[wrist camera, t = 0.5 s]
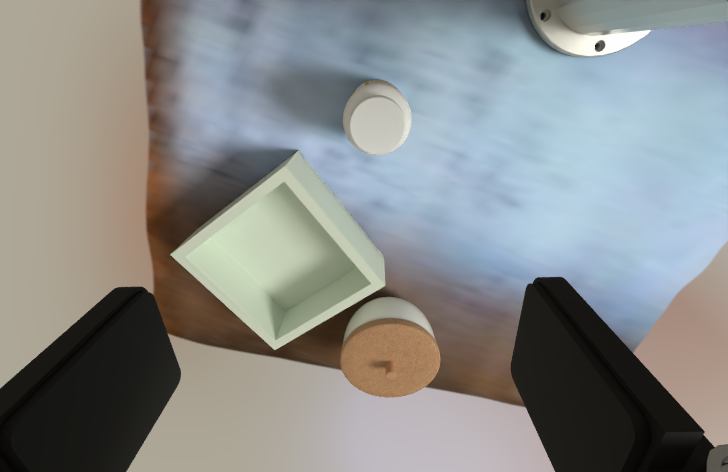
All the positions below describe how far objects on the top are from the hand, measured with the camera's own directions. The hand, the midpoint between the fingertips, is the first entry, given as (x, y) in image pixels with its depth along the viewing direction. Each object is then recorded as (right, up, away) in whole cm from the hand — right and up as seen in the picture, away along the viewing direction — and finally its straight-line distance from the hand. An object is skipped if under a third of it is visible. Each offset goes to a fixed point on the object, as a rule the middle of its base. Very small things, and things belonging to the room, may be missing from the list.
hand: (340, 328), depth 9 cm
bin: (-8, +2, +31) cm, 32 cm away
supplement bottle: (+2, +14, +25) cm, 29 cm away
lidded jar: (+4, -8, +36) cm, 37 cm away
